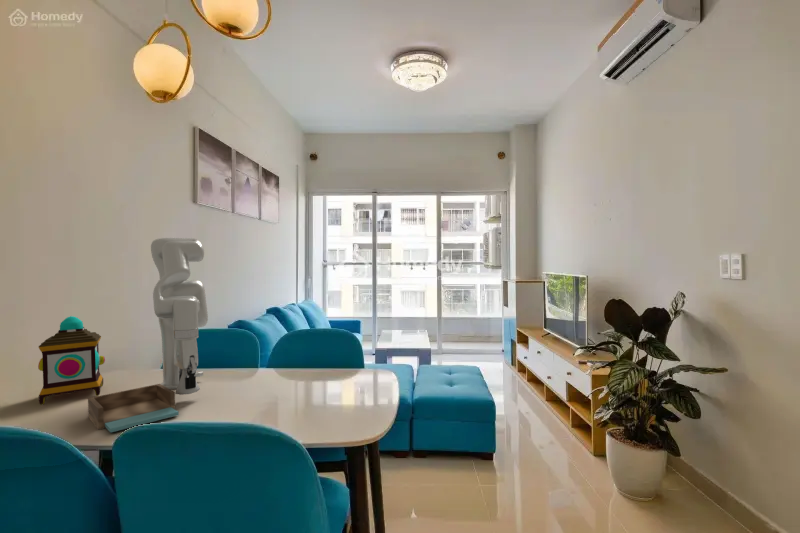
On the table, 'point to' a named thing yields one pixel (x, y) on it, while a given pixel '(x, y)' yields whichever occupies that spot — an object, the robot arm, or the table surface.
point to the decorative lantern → (70, 360)
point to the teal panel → (141, 419)
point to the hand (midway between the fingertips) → (187, 386)
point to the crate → (129, 404)
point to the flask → (181, 385)
